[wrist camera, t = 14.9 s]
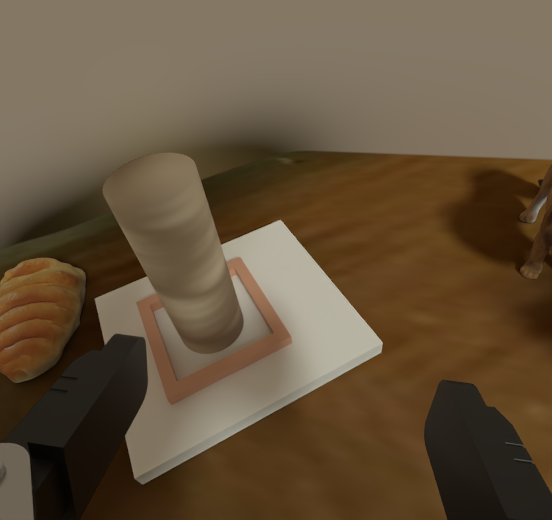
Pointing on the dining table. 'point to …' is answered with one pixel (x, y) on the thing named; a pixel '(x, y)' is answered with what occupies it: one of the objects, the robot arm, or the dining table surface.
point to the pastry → (38, 315)
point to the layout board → (236, 350)
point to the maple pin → (177, 246)
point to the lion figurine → (548, 236)
